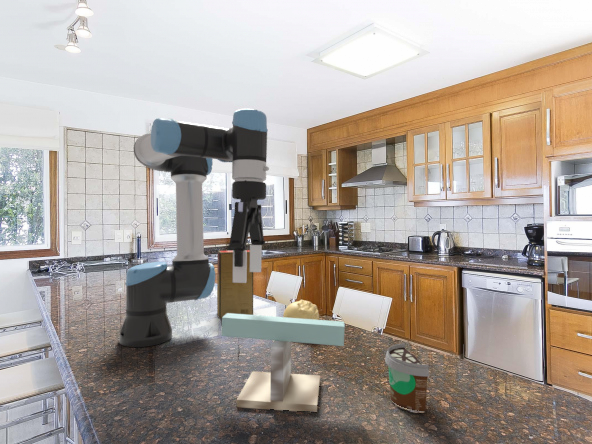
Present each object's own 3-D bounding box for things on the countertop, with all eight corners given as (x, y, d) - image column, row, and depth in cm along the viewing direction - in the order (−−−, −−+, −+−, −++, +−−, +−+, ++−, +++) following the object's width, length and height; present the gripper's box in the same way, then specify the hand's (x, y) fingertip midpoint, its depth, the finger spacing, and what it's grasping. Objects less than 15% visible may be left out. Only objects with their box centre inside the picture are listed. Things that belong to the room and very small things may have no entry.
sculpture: (316, 339, 109) (316, 305, 109) (279, 336, 111) (279, 303, 111) (321, 328, 120) (321, 297, 120) (287, 326, 123) (287, 295, 123)
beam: (221, 336, 75) (222, 317, 75) (226, 330, 78) (227, 313, 78) (343, 346, 72) (344, 326, 72) (343, 340, 75) (344, 321, 75)
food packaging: (249, 310, 144) (249, 249, 143) (254, 316, 135) (254, 251, 134) (216, 312, 139) (216, 250, 139) (218, 319, 130) (219, 252, 130)
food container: (376, 387, 78) (377, 343, 78) (403, 387, 79) (403, 342, 78) (397, 419, 66) (397, 366, 66) (428, 418, 66) (429, 365, 66)
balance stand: (236, 407, 70) (237, 347, 69) (252, 377, 82) (252, 327, 82) (316, 412, 68) (317, 351, 68) (320, 381, 81) (320, 330, 81)
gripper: (251, 174, 65) (250, 288, 65) (276, 186, 89) (275, 268, 90) (212, 174, 66) (211, 287, 66) (247, 186, 90) (246, 267, 91)
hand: (248, 276), depth 78 cm, fingers open, 13 cm apart
